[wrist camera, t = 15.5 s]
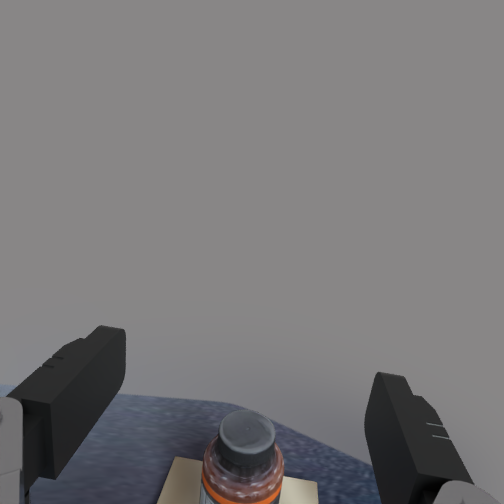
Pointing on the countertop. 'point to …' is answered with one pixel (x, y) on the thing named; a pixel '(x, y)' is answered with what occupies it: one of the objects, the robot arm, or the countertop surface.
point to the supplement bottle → (242, 462)
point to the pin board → (189, 484)
